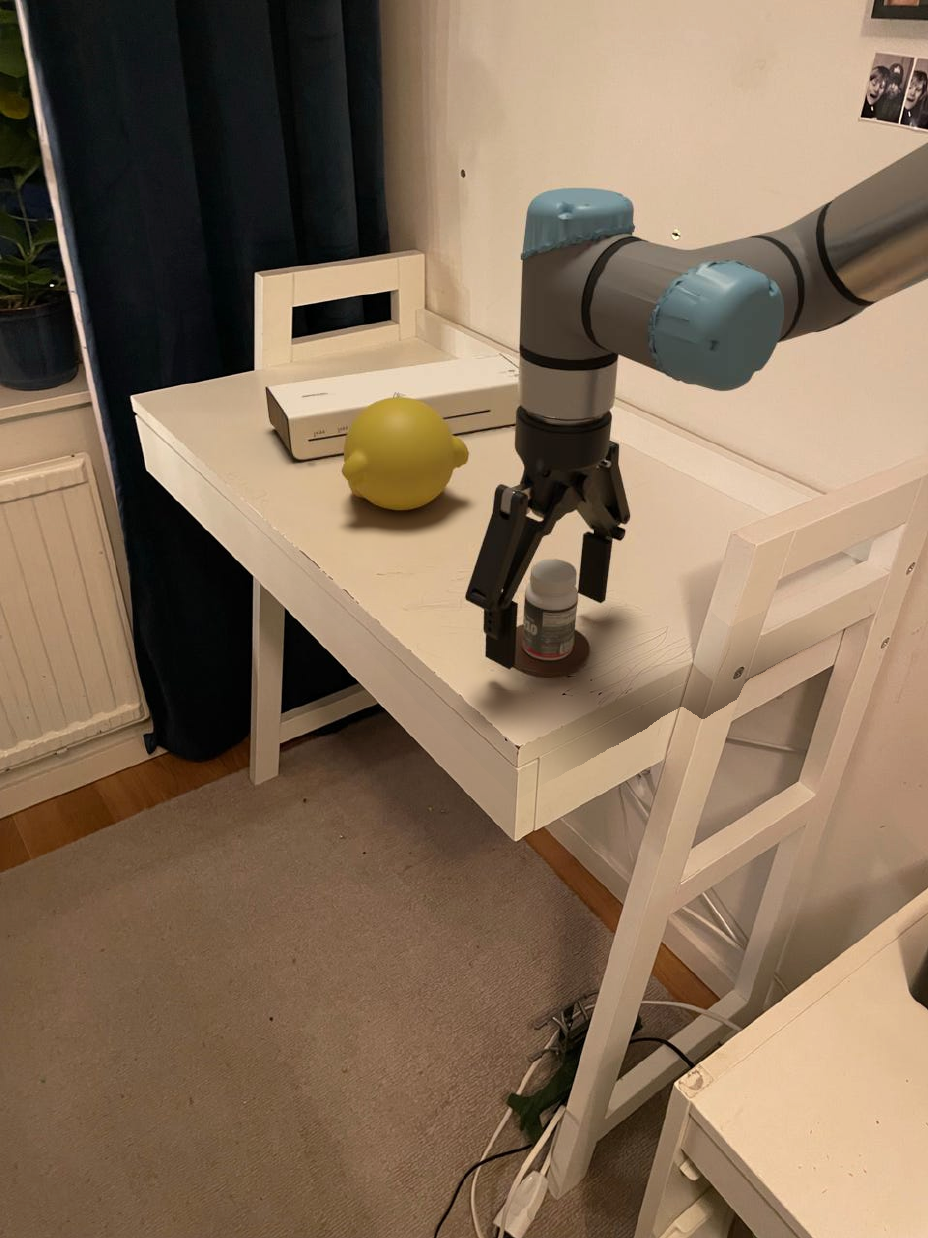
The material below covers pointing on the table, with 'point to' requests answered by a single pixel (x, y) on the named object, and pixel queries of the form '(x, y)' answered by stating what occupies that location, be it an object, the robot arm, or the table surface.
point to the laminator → (452, 388)
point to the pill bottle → (550, 610)
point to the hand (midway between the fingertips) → (547, 627)
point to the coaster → (552, 667)
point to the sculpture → (400, 454)
